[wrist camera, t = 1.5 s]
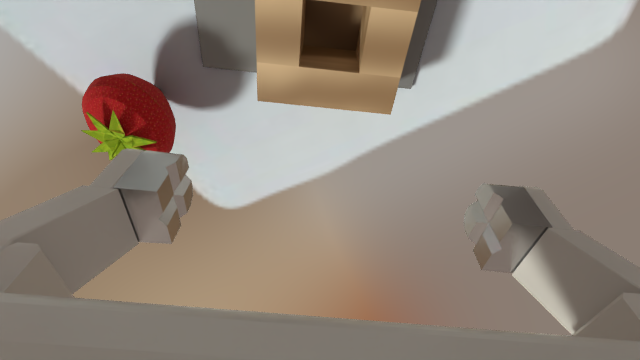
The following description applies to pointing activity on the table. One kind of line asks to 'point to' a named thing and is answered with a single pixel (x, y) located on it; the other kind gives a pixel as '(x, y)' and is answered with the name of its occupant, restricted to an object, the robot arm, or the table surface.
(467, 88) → the table surface
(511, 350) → the robot arm
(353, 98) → the socket block
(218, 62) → the mat
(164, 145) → the strawberry
